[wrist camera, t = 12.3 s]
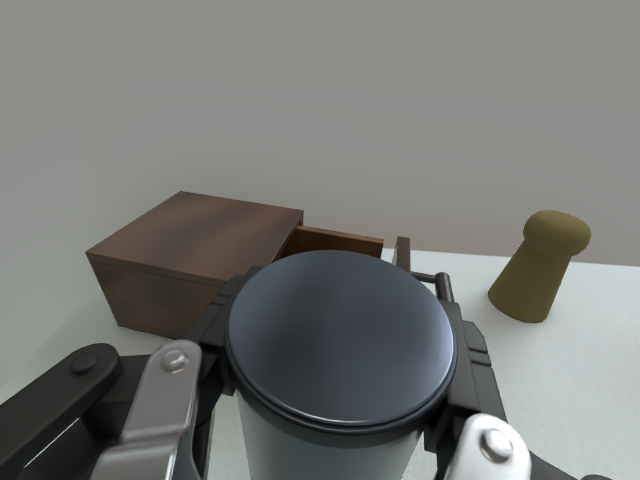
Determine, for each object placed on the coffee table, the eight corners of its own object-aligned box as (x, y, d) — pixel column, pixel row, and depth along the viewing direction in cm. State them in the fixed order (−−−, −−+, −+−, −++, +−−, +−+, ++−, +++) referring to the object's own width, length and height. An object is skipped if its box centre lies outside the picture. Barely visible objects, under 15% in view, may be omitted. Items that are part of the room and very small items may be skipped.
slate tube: (251, 606, 12) (197, 447, 5) (259, 447, 16) (237, 249, 10) (390, 584, 13) (517, 416, 6) (360, 437, 17) (408, 245, 10)
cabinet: (302, 273, 37) (303, 210, 32) (261, 361, 27) (255, 287, 22) (193, 252, 39) (180, 190, 35) (117, 325, 29) (84, 251, 24)
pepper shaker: (536, 289, 37) (584, 207, 31) (557, 328, 32) (619, 239, 26) (482, 280, 38) (519, 199, 32) (495, 316, 33) (541, 227, 27)
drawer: (435, 296, 33) (453, 245, 30) (447, 393, 24) (476, 336, 20) (282, 266, 36) (281, 216, 33) (239, 343, 27) (231, 285, 23)
